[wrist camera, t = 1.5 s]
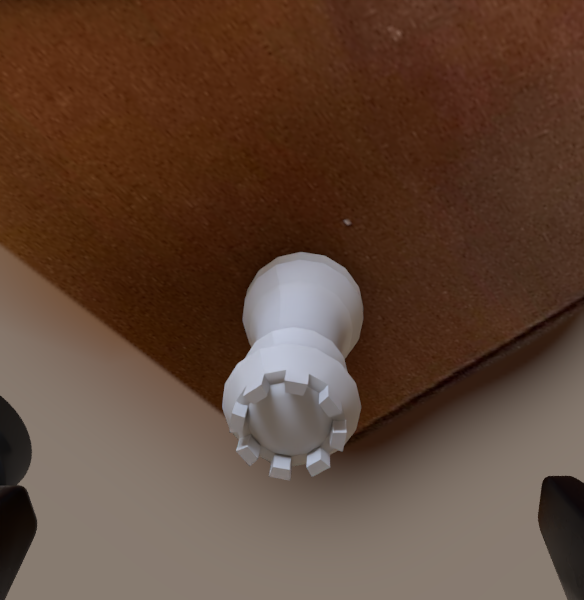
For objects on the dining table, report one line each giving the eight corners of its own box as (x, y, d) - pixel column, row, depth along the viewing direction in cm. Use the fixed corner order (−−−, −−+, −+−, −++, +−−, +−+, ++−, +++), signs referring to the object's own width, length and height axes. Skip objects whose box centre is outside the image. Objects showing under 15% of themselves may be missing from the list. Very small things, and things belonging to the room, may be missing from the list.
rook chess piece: (226, 277, 17) (146, 383, 9) (334, 229, 16) (342, 302, 8) (277, 373, 18) (243, 536, 10) (380, 333, 17) (423, 480, 10)
